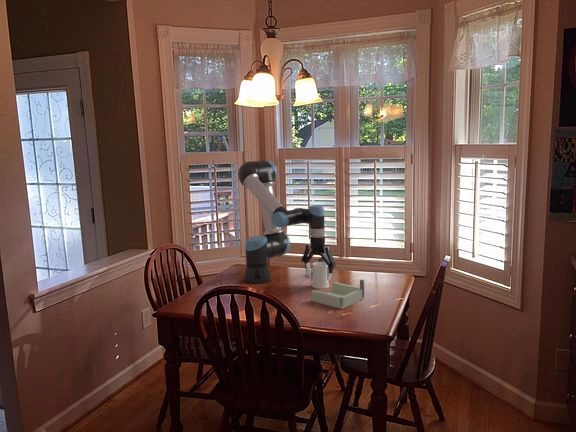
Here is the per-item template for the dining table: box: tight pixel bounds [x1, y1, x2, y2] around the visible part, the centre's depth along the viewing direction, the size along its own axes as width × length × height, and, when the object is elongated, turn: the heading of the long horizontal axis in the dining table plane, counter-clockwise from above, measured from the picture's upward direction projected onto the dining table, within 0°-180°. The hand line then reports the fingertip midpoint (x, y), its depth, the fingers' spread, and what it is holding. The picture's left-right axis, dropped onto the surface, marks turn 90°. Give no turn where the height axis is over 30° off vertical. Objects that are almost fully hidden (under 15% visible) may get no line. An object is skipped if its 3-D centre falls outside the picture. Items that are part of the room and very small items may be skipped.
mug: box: [309, 261, 330, 290], centre depth 240 cm, size 12×8×12 cm
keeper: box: [311, 279, 365, 310], centre depth 220 cm, size 18×18×9 cm
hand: (318, 277), depth 240 cm, fingers open, 13 cm apart
